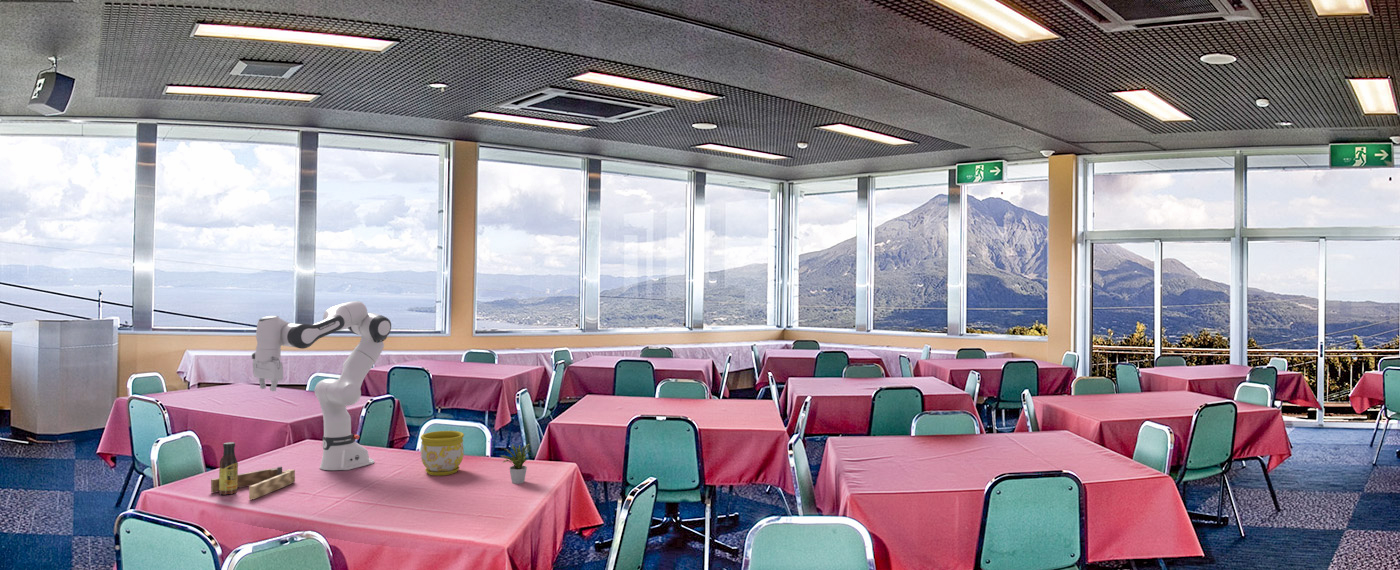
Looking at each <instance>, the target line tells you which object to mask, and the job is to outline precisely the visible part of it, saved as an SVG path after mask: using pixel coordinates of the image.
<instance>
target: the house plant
mask: <svg viewBox="0 0 1400 570" xmlns="http://www.w3.org/2000/svg"><path fill="white" fill-rule="evenodd" d="M529 445H530V443H528V444H525V445H523V446H522V447H521V444H519V445H518V447H517V446H515V445H514V444H513V443H511V449H512V450H513V452H514V453H513V452H512V450H509V449H507V448H503V447H502V449H504V450H505V451H507V452H508V454H510V456H511V457H510V456H508V455H499V457H502V458H503V459H505V460H503V462H502V464H504V463H506V462H509V463H510V464H511V465H512V466H510V467H509V474H510V479H511V483H512V484H516V485H518V484H519V485H520V484H523V483H525V480H526V475H527V474H526V473H527V469H528V468H527V466H526V465H524V464H525V463H526V462H527V461H528V460H529V458H527V456H526V455H527V454H528V452H530V449H529Z"/></svg>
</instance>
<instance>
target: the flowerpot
mask: <svg viewBox="0 0 1400 570" xmlns="http://www.w3.org/2000/svg"><path fill="white" fill-rule="evenodd" d="M464 437H465V434H464V433H463V432H461V431H457V430H437V431H431V432H427V433H426V432H425V433H423V434H421V436H420V440H421V450H420V458H421V462H422V464H423V466H424V468H425V469H424V470H425V472H427V474H428V475H430V476H436V477H437V476H441V477H442V476H449V475H453V474H455V473H457V472H458V471H459V469H460V465H461V463H462V461H463V458H464V455H465V454H464V453H465V452H464V451H465V450H464V448H465V447H464Z"/></svg>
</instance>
